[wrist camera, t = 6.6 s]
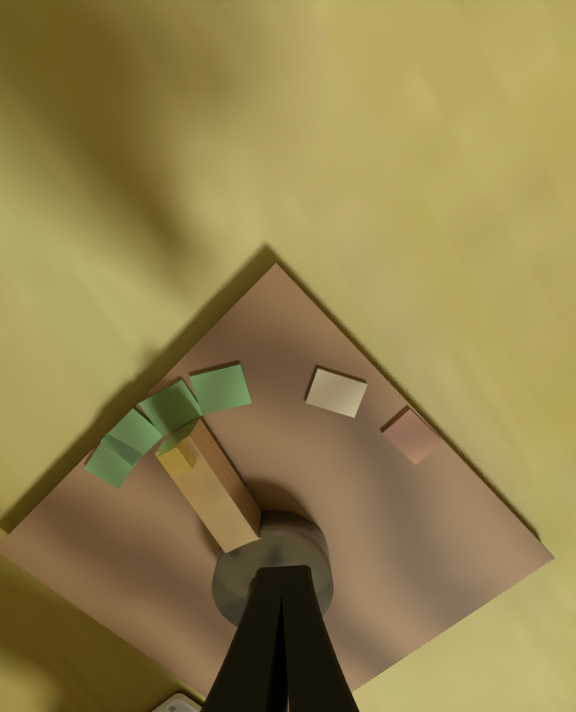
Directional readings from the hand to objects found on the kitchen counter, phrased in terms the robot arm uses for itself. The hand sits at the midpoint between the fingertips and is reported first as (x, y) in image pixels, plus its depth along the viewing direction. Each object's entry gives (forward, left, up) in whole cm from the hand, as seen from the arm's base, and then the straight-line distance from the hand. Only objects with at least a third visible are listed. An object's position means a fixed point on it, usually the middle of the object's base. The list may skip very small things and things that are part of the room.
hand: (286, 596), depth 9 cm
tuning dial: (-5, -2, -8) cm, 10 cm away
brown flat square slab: (-5, -4, -9) cm, 12 cm away
